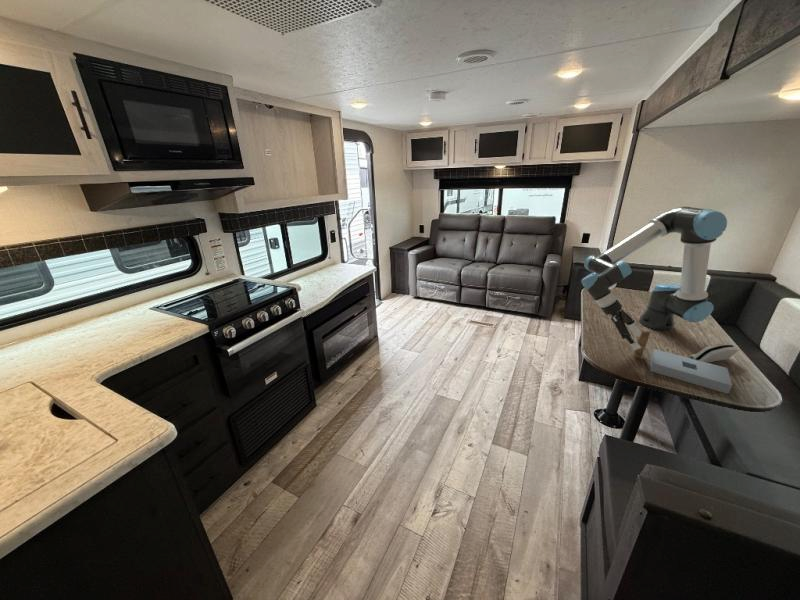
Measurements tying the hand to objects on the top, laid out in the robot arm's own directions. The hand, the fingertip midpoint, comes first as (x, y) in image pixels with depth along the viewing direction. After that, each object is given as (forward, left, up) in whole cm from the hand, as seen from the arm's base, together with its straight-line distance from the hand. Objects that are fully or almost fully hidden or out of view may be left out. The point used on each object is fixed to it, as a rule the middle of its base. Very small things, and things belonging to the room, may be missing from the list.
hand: (638, 342), depth 140 cm
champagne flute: (-60, -19, -8) cm, 63 cm away
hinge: (-18, +28, -8) cm, 34 cm away
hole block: (+2, +18, -7) cm, 20 cm away
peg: (-1, +1, -7) cm, 7 cm away
